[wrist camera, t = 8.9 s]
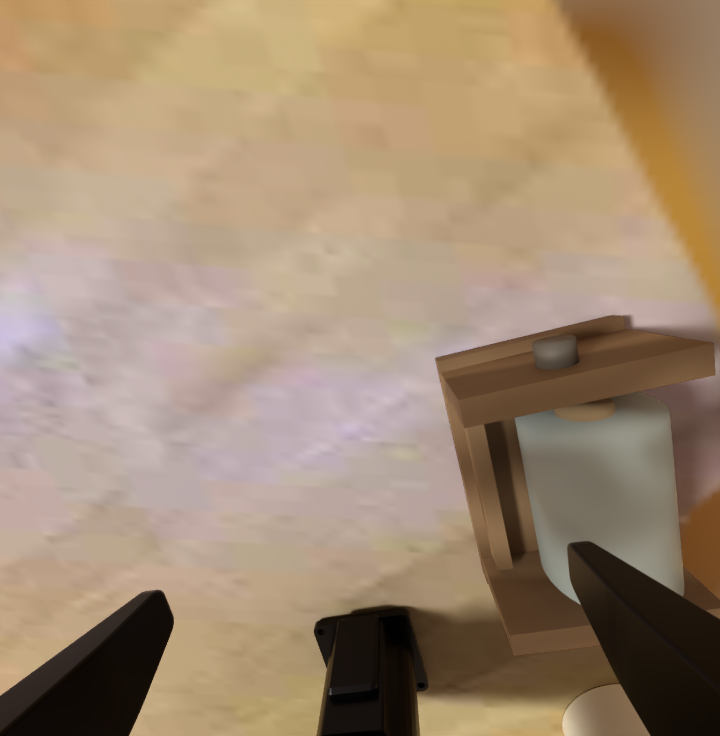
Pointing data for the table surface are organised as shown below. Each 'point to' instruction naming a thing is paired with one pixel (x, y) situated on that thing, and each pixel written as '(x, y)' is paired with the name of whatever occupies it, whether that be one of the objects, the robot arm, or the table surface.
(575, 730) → the cylindrical container
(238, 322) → the table surface
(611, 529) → the roll
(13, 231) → the table surface
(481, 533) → the holder
